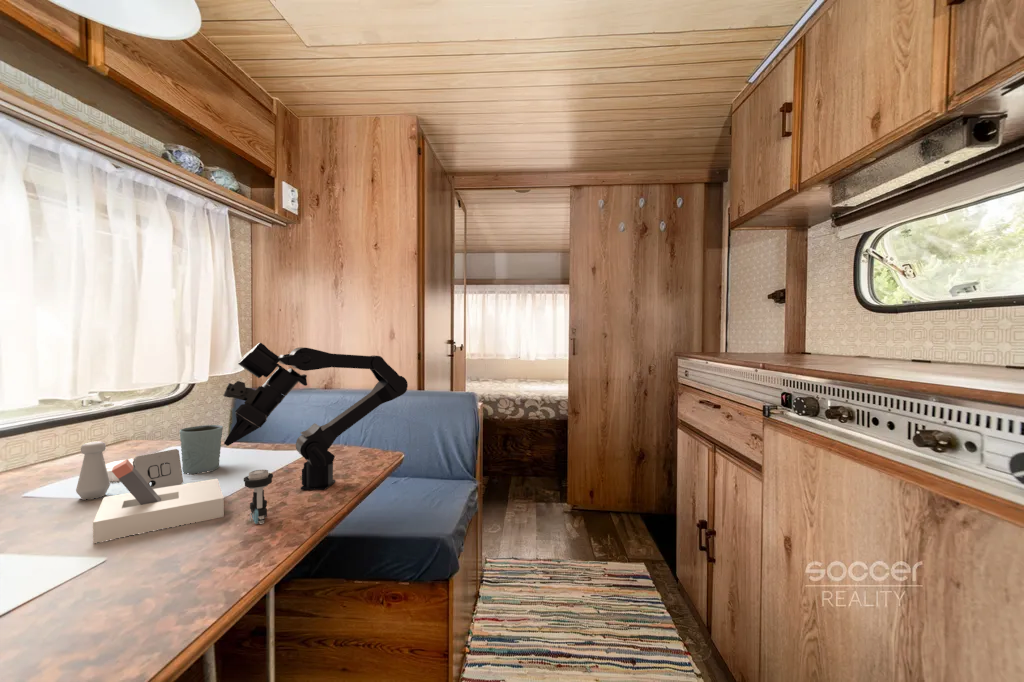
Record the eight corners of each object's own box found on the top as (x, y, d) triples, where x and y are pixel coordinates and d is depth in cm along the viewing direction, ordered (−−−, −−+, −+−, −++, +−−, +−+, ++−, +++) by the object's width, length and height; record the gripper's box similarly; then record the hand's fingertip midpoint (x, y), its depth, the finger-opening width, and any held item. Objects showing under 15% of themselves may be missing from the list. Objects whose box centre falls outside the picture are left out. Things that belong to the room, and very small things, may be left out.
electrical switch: (139, 496, 103) (137, 457, 104) (129, 494, 106) (128, 456, 106) (184, 484, 111) (182, 448, 112) (174, 483, 114) (172, 448, 114)
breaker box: (217, 495, 104) (217, 478, 104) (223, 516, 91) (223, 497, 91) (103, 515, 92) (103, 497, 91) (93, 544, 79) (93, 522, 79)
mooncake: (85, 480, 115) (86, 466, 115) (136, 467, 127) (136, 455, 127) (117, 484, 112) (117, 470, 112) (165, 471, 123) (165, 458, 123)
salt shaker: (114, 494, 104) (114, 441, 104) (83, 503, 99) (83, 446, 98) (102, 491, 106) (102, 438, 106) (71, 499, 101) (71, 443, 101)
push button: (276, 522, 88) (276, 474, 88) (246, 529, 85) (246, 479, 85) (270, 512, 94) (270, 466, 94) (241, 518, 90) (242, 471, 90)
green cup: (175, 476, 118) (175, 433, 118) (183, 467, 127) (183, 426, 127) (220, 471, 122) (220, 429, 122) (224, 462, 131) (224, 423, 131)
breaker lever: (161, 498, 93) (127, 459, 89) (160, 504, 90) (125, 463, 86) (148, 506, 91) (113, 466, 88) (147, 512, 88) (111, 471, 85)
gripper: (247, 371, 110) (199, 422, 104) (242, 367, 94) (185, 427, 88) (285, 397, 114) (240, 448, 108) (287, 397, 97) (234, 457, 91)
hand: (225, 444), depth 99 cm, fingers closed
